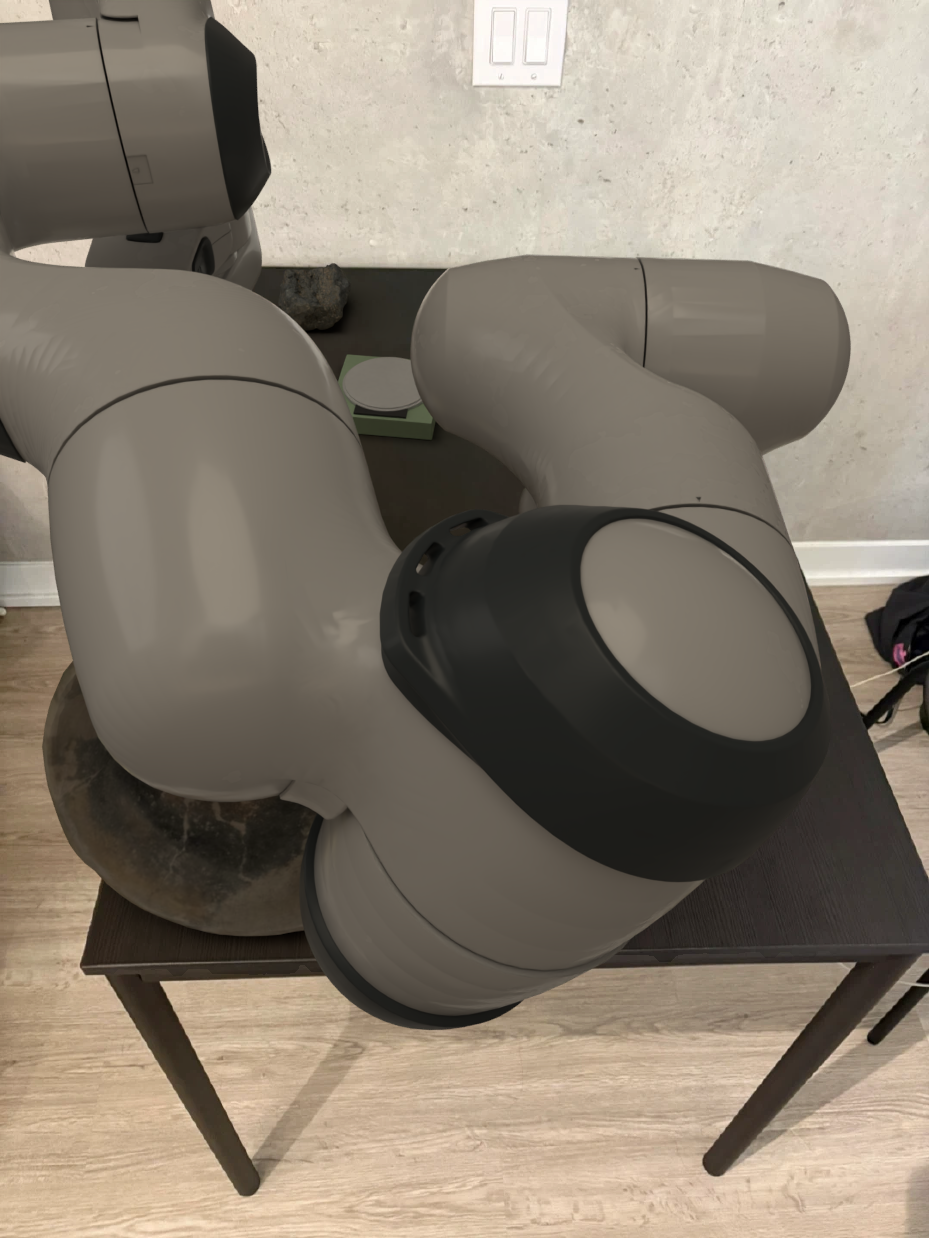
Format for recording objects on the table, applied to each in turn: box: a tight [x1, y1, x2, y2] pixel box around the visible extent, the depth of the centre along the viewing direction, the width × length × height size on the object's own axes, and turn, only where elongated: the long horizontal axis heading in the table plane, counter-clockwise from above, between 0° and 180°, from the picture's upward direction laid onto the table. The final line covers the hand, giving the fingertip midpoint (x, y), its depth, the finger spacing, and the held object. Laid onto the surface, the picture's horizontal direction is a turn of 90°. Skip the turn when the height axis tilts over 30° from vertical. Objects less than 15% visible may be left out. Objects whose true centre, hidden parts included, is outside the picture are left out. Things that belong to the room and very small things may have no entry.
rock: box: [277, 262, 352, 332], centre depth 113 cm, size 12×10×5 cm
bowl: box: [41, 660, 317, 937], centre depth 63 cm, size 27×26×15 cm
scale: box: [337, 354, 437, 441], centre depth 101 cm, size 12×12×3 cm
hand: (220, 388), depth 67 cm, fingers open, 8 cm apart
